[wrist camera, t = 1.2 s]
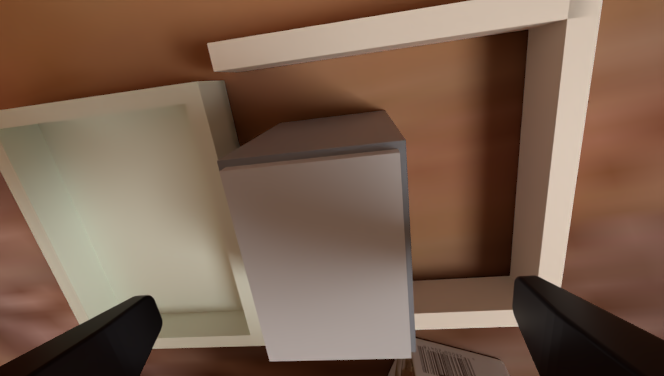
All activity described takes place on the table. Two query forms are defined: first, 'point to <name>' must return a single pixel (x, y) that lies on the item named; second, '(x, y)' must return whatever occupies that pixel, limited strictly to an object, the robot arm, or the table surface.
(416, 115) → the table surface
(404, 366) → the coffee box
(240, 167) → the grey block
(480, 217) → the table surface
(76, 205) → the tray
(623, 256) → the table surface
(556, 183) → the bay
